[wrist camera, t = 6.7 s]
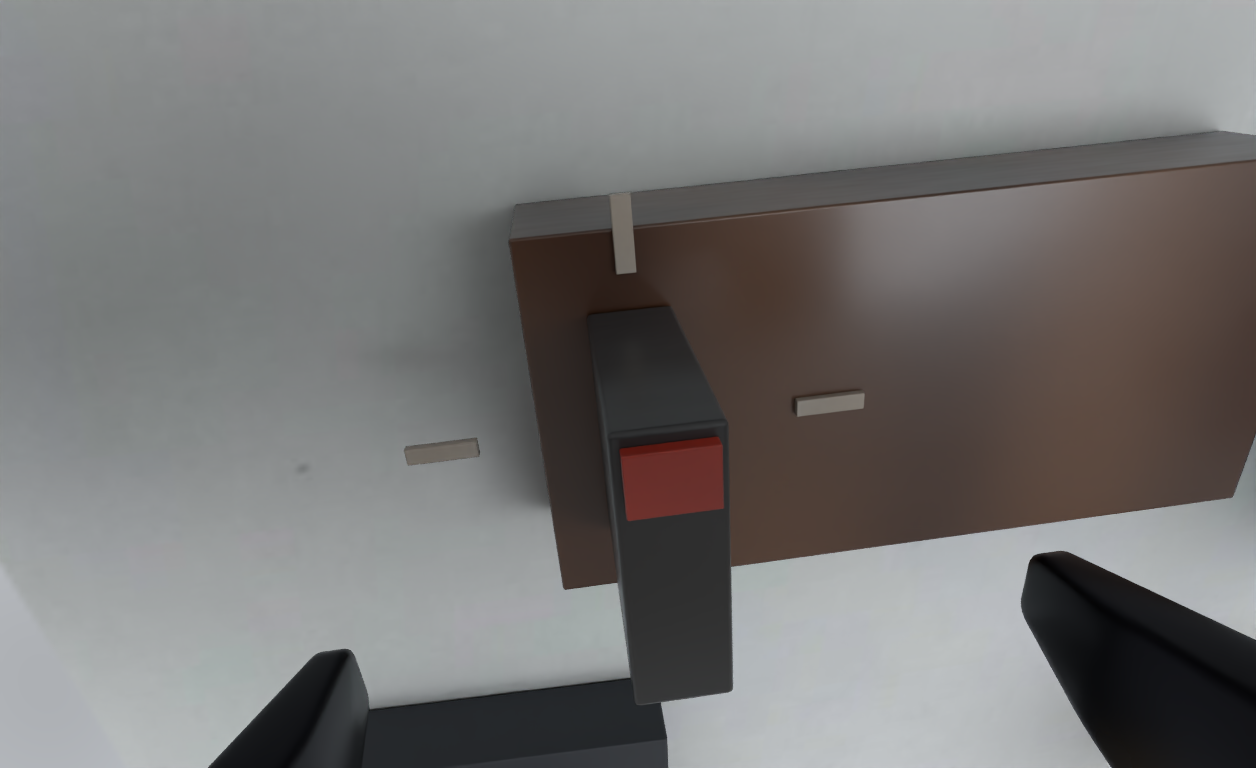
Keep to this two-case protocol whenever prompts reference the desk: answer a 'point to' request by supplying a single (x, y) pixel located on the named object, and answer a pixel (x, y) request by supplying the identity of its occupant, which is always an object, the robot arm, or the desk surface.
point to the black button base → (522, 731)
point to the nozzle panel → (916, 340)
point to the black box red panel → (665, 503)
